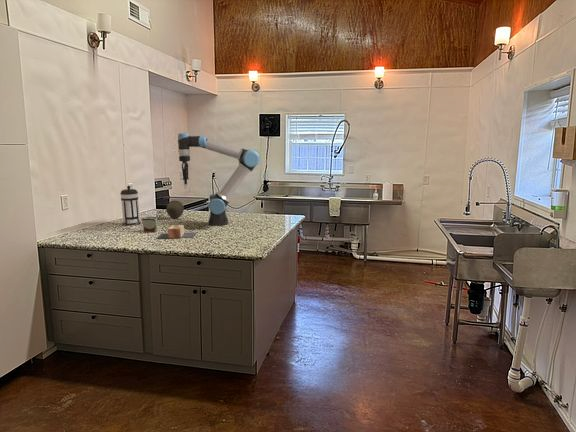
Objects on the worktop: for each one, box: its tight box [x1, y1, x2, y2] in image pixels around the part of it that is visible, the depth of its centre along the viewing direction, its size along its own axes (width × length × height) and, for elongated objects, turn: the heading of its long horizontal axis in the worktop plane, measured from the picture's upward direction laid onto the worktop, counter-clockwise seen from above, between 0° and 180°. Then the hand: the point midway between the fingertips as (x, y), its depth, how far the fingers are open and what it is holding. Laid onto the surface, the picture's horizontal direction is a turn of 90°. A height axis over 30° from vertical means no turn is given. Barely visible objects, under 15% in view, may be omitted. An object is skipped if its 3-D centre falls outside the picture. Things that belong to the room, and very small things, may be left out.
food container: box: [140, 216, 158, 233], centre depth 288 cm, size 12×6×10 cm, turn 71°
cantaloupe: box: [165, 200, 185, 219], centre depth 334 cm, size 14×14×15 cm
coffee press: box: [119, 185, 141, 227], centre depth 311 cm, size 17×16×30 cm
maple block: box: [167, 224, 185, 239], centre depth 270 cm, size 8×6×12 cm
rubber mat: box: [156, 231, 198, 240], centre depth 273 cm, size 24×14×1 cm, turn 94°
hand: (186, 188), depth 290 cm, fingers closed
